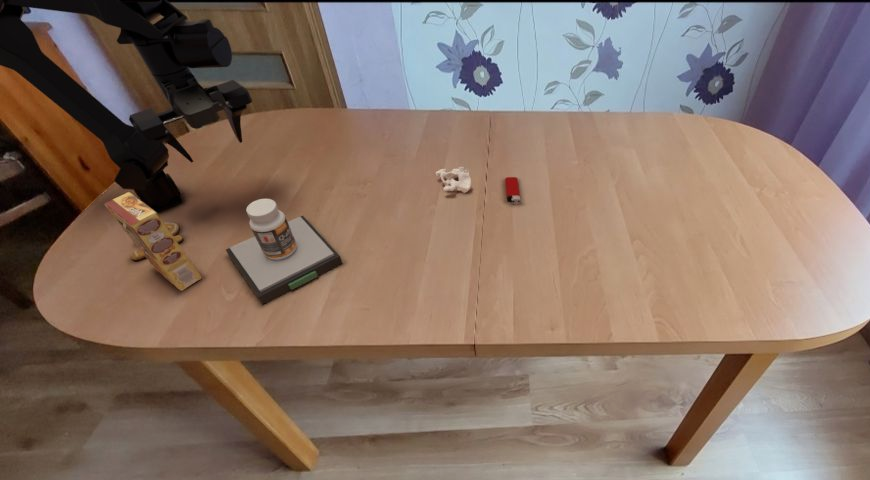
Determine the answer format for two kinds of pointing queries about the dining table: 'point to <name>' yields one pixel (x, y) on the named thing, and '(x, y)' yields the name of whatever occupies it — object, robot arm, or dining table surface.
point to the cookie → (174, 230)
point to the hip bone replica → (460, 185)
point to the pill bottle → (271, 229)
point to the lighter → (512, 190)
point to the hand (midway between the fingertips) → (216, 151)
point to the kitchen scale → (284, 262)
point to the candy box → (153, 239)
